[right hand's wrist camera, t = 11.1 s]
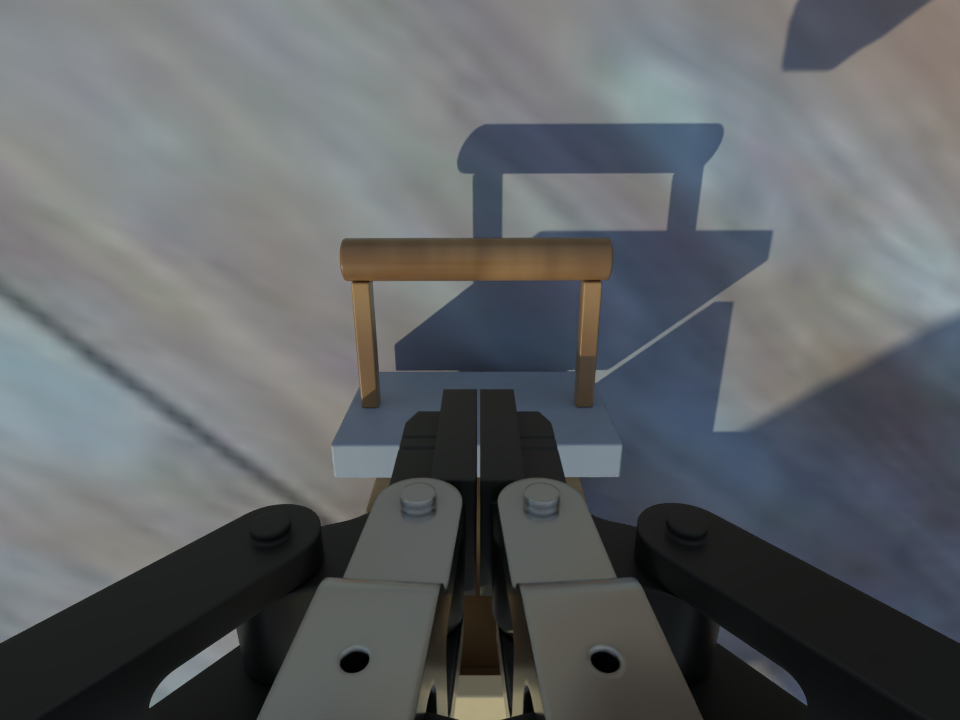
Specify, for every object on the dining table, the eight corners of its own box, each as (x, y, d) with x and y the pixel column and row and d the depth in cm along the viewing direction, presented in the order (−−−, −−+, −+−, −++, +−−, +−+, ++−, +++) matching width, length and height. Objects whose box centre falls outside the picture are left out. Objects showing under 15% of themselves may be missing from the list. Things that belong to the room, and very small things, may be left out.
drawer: (354, 224, 21) (309, 255, 15) (599, 223, 21) (642, 254, 15) (389, 658, 29) (367, 782, 23) (568, 657, 29) (590, 782, 23)
